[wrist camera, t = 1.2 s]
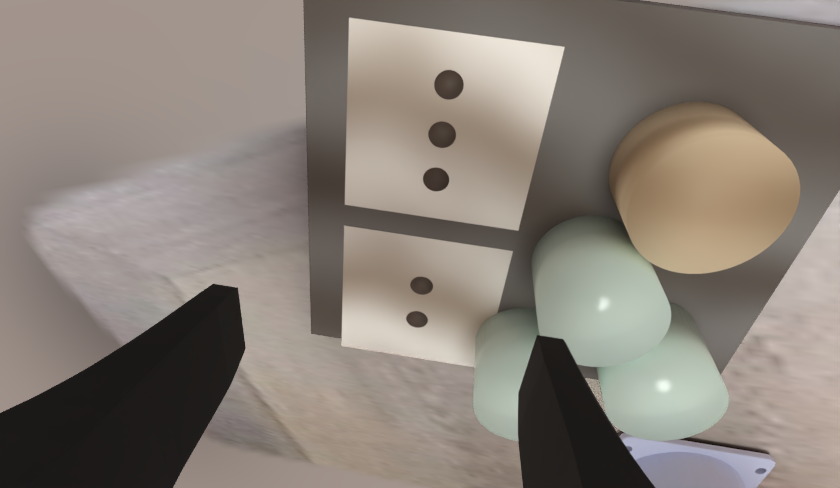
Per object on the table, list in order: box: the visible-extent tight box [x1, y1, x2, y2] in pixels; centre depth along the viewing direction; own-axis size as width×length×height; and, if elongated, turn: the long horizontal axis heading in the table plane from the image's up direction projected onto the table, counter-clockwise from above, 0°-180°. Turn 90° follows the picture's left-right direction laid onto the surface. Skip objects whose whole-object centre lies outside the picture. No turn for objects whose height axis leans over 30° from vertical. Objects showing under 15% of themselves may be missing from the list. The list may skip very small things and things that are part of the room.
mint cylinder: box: [531, 215, 671, 367], centre depth 19 cm, size 4×4×4 cm
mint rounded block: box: [473, 308, 540, 441], centre depth 22 cm, size 4×4×4 cm
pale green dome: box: [596, 302, 729, 441], centre depth 21 cm, size 4×4×4 cm
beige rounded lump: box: [609, 102, 800, 274], centre depth 17 cm, size 5×5×3 cm
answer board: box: [304, 0, 840, 380], centre depth 20 cm, size 16×19×1 cm
